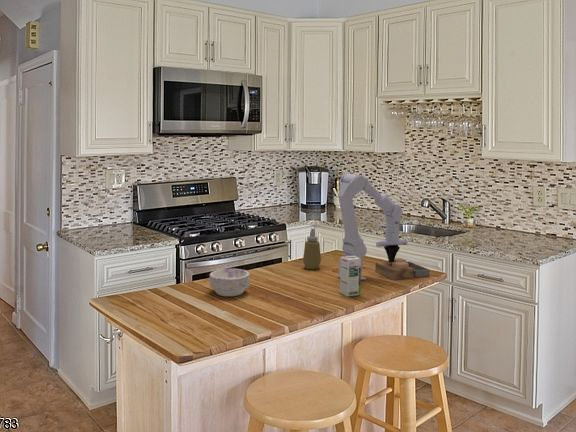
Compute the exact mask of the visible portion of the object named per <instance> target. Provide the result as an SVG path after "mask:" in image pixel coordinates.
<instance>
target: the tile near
mask: <svg viewBox="0 0 576 432" xmlns="http://www.w3.org/2000/svg"><path fill="white" fill-rule="evenodd" d="M392 266H393V267H395V268H397V269H403V268H409V264H408V263H405V262H403V261H399V262H392Z"/></svg>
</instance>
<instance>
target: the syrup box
mask: <svg viewBox="0 0 576 432" xmlns="http://www.w3.org/2000/svg"><path fill="white" fill-rule="evenodd" d="M340 259H341V277H339V278H340V280H339V281H340V285H339V286H340V290H339V293H340V294H341V295H343V296H346V297H347V298H348V297H354V296H355V297H356V296H360V295H361V286H362V285H361V281H362V280H361V258H359V257H357V256H341V257H340Z"/></svg>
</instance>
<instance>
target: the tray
mask: <svg viewBox="0 0 576 432" xmlns="http://www.w3.org/2000/svg"><path fill="white" fill-rule="evenodd" d="M406 263H408V264H409V267H411V268H413V269H414V278H413V279H418V278H425V277H430V269H429V268H426V267H424V266H421V265H420V264H417V263H414V262H413V261H412V262H411V261H406Z"/></svg>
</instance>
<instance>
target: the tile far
mask: <svg viewBox="0 0 576 432" xmlns="http://www.w3.org/2000/svg"><path fill="white" fill-rule="evenodd" d="M399 261H403V262H405V263H406V262H407V260H406V259H404V258H401V257H395V259H394V262H399ZM390 263H391V262H390Z"/></svg>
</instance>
